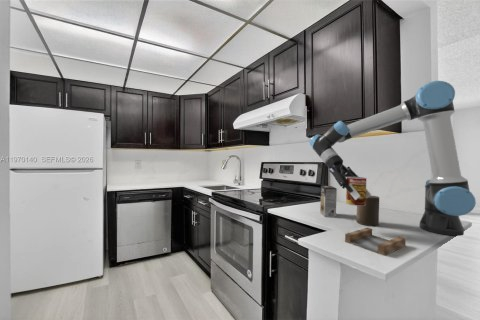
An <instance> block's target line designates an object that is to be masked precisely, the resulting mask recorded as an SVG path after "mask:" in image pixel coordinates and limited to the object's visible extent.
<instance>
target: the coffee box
mask: <svg viewBox="0 0 480 320" xmlns="http://www.w3.org/2000/svg"><path fill="white" fill-rule="evenodd" d="M337 190H338V188H337V187H335V186H331V185H320V210H319V212H320V214H321V215H322V216H323V217H324V218H336V217H337V197H338V196H337V195H338V194H337V193H338V191H337Z"/></svg>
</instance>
